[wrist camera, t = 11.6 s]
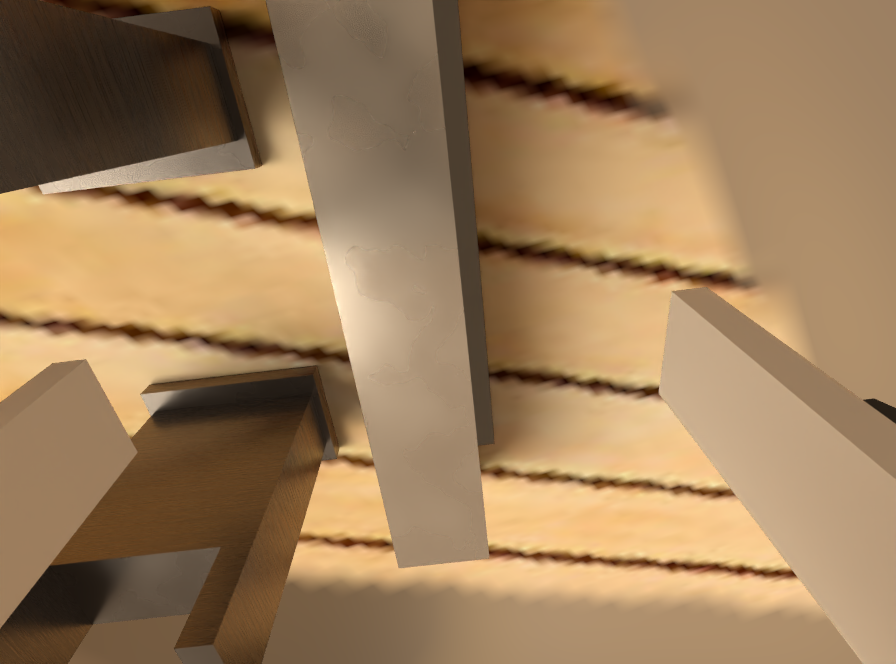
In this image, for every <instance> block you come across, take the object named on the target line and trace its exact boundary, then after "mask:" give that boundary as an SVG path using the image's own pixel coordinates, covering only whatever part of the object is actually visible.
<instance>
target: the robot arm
mask: <svg viewBox="0 0 896 664" xmlns="http://www.w3.org/2000/svg"><path fill="white" fill-rule="evenodd" d="M659 394H660V396H661V397H662V398H663V400H664V401H665V402H666V404H667V405H668V406H669V407H670V409H671V410H672V411H673V413H674V414H675V415H676V417H677V418H678V419H679V421H680V422H681V423H682V425H683V426H684V427H685V429H686V430H687V431H688V433H689V434H690V435H691V437H692V438H693V439H694V441H695V442H696V443H697V445H698V446H699V447H700V449H701V450H702V451H703V453H704V454H705V455H706V456H707V458H708V459H709V460H710V462H711V463H712V464H713V466H714V467H715V468H716V470H717V471H718V472H719V474H720V475H721V476H722V478H723V479H724V480H725V482H726V483H727V484H728V486H729V487H730V488H731V490H732V491H733V492H734V494H735V495H736V496H737V498H738V499H739V500H740V501H741V503H742V504H743V505H744V507H745V508H746V509H747V511H748V512H749V513H750V515H751V516H752V517H753V519H754V520H755V521H756V523H757V524H758V525H759V527H760V528H761V529H762V531H763V532H764V533H765V535H766V536H767V537H768V539H769V540H770V541H771V543H772V544H773V545H774V546H775V548H776V549H777V550H778V552H779V553H780V554H781V556H782V557H783V558H784V560H785V561H786V562H787V564H788V565H789V566H790V568H791V569H792V570H793V572H794V573H795V574H796V576H797V577H798V578H799V580H800V581H801V582H802V584H803V585H804V586H805V588H806V589H807V590H808V592H809V593H810V594H811V595H812V597H813V598H814V599H815V601H816V602H817V603H818V605H819V606H820V607H821V609H822V610H823V611H824V613H825V614H826V615H827V617H828V618H829V619H830V621H831V622H832V623H833V625H834V626H835V627H836V629H837V630H838V631H839V632H840V634H841V635H842V637H843V638H844V639H845V640H846V642H847V643H848V644H849V646H850V647H851V648H852V650H853V651H854V652H855V654H856V655H857V656H858V658H859V659H860V660H861V662H862V663H863V664H896V408H894V407H892V406H890V405H888V404H885V403H883V402H881V401H878V400H876V399H866V400H862V399H860V398H859V397H858V396H856V395H855V394H854V393H852V392H851V391H849V390H848V389H847V388H845V387H844V386H843V385H841V384H840V383H838V382H837V381H836V380H834V379H833V378H831V377H830V376H829V375H827V374H826V373H824V372H823V371H822V370H820V369H819V368H818V367H816V366H815V365H813V364H812V363H811V362H809V361H808V360H807V359H805V358H804V357H802V356H801V355H800V354H798V353H797V352H795V351H794V350H793V349H791V348H790V347H789V346H787V345H786V344H784V343H783V342H782V341H780V340H779V339H777V338H776V337H775V336H773V335H772V334H771V333H769V332H768V331H766V330H765V329H764V328H762V327H761V326H759V325H758V324H757V323H755V322H754V321H753V320H751V319H750V318H748V317H747V316H746V315H744V314H743V313H741V312H740V311H739V310H737V309H736V308H735V307H733V306H732V305H730V304H729V303H728V302H726V301H725V300H723V299H722V298H721V297H719V296H718V295H717V294H715V293H714V292H712V291H711V290H710V289H708V288H707V287H704V288H695V289H687V290H678V291H672V292H671V300H670V308H669V316H668V324H667V332H666V340H665V347H664V355H663V363H662V371H661V379H660V387H659ZM137 453H138V452H137V450H136V448H135V447H134V445H133V443H132V441H131V439H130V438H129V436H128V434H127V432H126V430H125V429H124V427H123V425H122V423H121V421H120V420H119V418H118V416H117V414H116V412H115V411H114V409H113V407H112V405H111V403H110V402H109V400H108V398H107V396H106V394H105V393H104V391H103V389H102V387H101V385H100V383H99V382H98V380H97V378H96V376H95V374H94V373H93V371H92V369H91V367H90V365H89V364H88V362H87V360H86V359H85V360H77V361H68V362H60V363H52V364H51V365H50V366H48V367H47V368H46V369H44V370H43V371H42V372H40V373H39V374H38V375H36V376H35V377H34V378H32V379H31V380H30V381H28V382H27V383H26V384H24V385H23V386H22V387H20V388H19V389H18V390H16V391H15V392H14V393H12V394H11V395H10V396H8V397H7V398H6V399H4V400H3V401H2V402H0V628H1V627H2V626H3V624H4V623H5V622H6V620H7V619H8V618H9V617H10V615H11V614H12V613H13V611H14V610H15V609H16V608H17V606H18V605H19V604H20V602H21V601H22V600H23V599H24V597H25V596H26V595H27V593H28V592H29V591H30V590H31V588H32V587H33V586H34V585H35V583H36V582H37V581H38V579H39V578H40V577H41V576H42V574H43V573H44V572H45V570H46V569H47V568H48V567H49V565H50V564H51V563H52V561H53V560H54V559H55V558H56V556H57V555H58V554H59V553H60V551H61V550H62V549H63V547H64V546H65V545H66V544H67V542H68V541H69V540H70V538H71V537H72V536H73V535H74V533H75V532H76V531H77V529H78V528H79V527H80V526H81V524H82V523H83V522H84V521H85V519H86V518H87V517H88V515H89V514H90V513H91V512H92V510H93V509H94V508H95V506H96V505H97V504H98V503H99V501H100V500H101V499H102V497H103V496H104V495H105V494H106V492H107V491H108V490H109V489H110V487H111V486H112V485H113V483H114V482H115V481H116V480H117V478H118V477H119V476H120V474H121V473H122V472H123V471H124V469H125V468H126V467H127V465H128V464H129V463H130V462H131V460H132V459H133V458H134V457H135V455H136V454H137Z"/></svg>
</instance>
